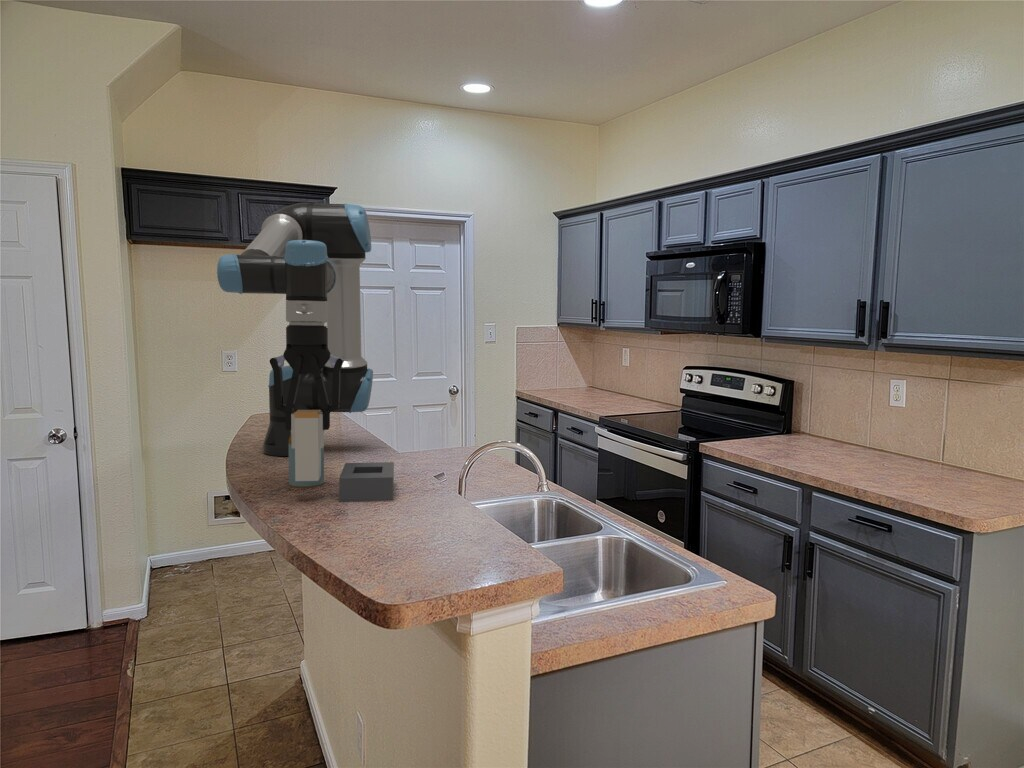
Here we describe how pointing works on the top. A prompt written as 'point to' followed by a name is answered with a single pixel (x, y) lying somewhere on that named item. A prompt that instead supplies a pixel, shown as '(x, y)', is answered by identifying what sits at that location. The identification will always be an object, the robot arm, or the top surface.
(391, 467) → the gray socket block
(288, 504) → the top surface
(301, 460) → the plug
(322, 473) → the bottle
